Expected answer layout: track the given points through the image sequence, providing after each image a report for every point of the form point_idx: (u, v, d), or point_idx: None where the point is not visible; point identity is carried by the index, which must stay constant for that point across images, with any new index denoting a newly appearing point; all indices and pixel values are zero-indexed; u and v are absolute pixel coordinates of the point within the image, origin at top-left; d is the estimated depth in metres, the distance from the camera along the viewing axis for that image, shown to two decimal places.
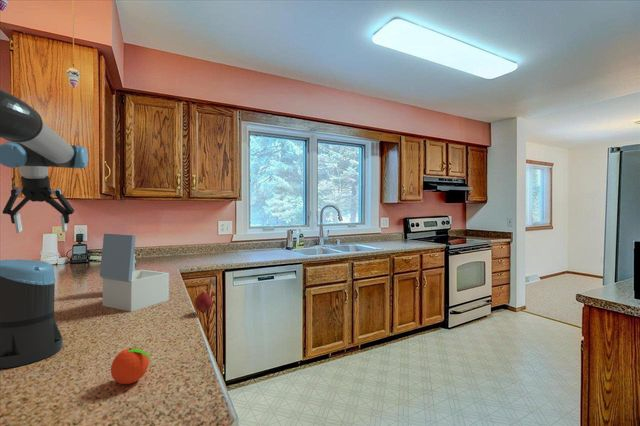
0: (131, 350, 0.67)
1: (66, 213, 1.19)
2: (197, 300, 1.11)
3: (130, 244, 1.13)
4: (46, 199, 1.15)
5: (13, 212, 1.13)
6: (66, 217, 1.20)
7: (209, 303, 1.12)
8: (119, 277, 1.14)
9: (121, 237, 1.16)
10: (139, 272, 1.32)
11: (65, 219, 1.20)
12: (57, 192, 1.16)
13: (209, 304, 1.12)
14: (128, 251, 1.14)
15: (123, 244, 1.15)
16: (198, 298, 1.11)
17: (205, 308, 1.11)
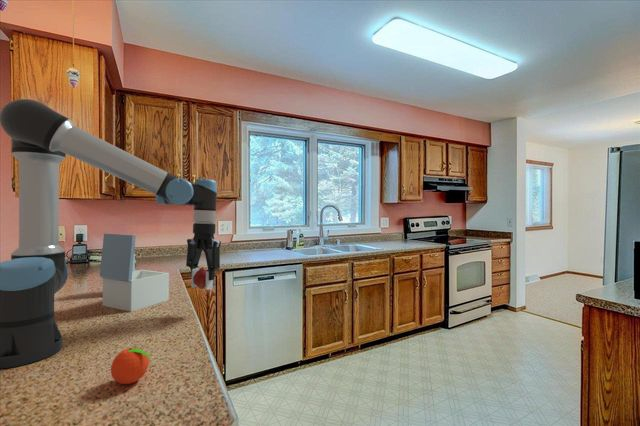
0: (131, 350, 0.67)
1: (211, 269, 1.10)
2: (196, 275, 1.10)
3: (130, 244, 1.13)
4: (204, 248, 1.10)
5: (191, 264, 1.13)
6: (210, 273, 1.10)
7: None
8: (119, 277, 1.14)
9: (121, 237, 1.16)
10: (139, 272, 1.32)
11: (209, 275, 1.10)
12: (214, 243, 1.09)
13: None
14: (128, 251, 1.14)
15: (123, 244, 1.15)
16: (197, 273, 1.11)
17: (203, 284, 1.10)
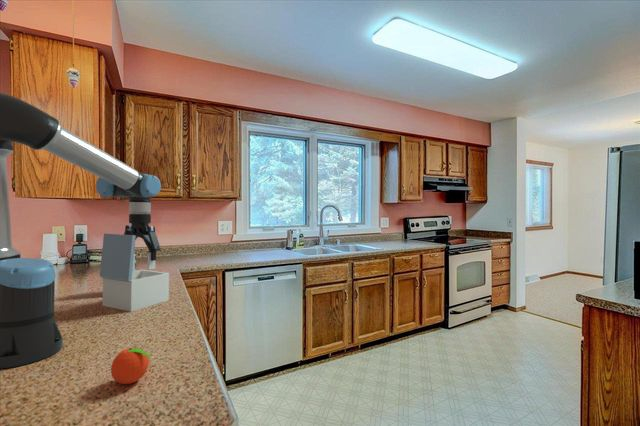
0: (131, 350, 0.67)
1: (151, 249, 1.21)
2: None
3: (130, 244, 1.13)
4: (141, 234, 1.22)
5: None
6: (152, 254, 1.21)
7: None
8: (119, 277, 1.14)
9: (121, 237, 1.16)
10: (139, 272, 1.32)
11: (151, 256, 1.21)
12: (148, 228, 1.21)
13: None
14: (128, 251, 1.14)
15: (123, 244, 1.15)
16: None
17: None
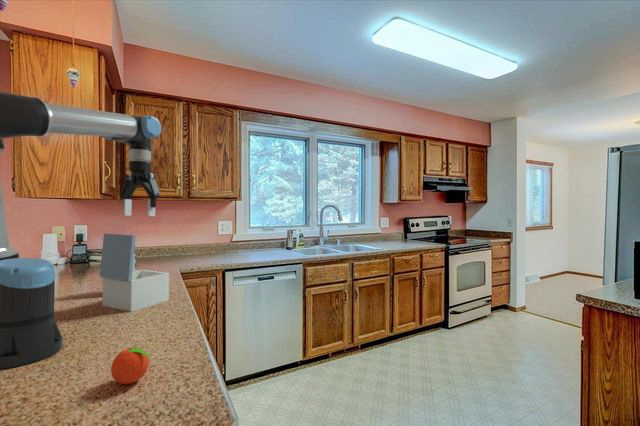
0: (131, 350, 0.67)
1: (151, 196, 1.20)
2: None
3: (130, 244, 1.13)
4: (141, 181, 1.22)
5: (124, 196, 1.26)
6: (152, 201, 1.21)
7: None
8: (119, 277, 1.14)
9: (121, 237, 1.16)
10: (139, 272, 1.32)
11: (151, 203, 1.21)
12: (148, 174, 1.21)
13: None
14: (128, 251, 1.14)
15: (123, 244, 1.15)
16: None
17: None
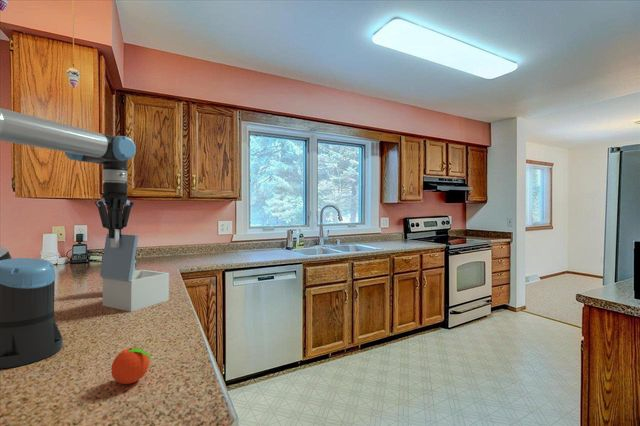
0: (132, 350, 0.67)
1: None
2: None
3: (132, 244, 1.14)
4: None
5: None
6: None
7: None
8: (119, 277, 1.14)
9: (124, 237, 1.17)
10: (139, 272, 1.32)
11: None
12: None
13: None
14: (130, 251, 1.14)
15: (125, 244, 1.16)
16: None
17: None
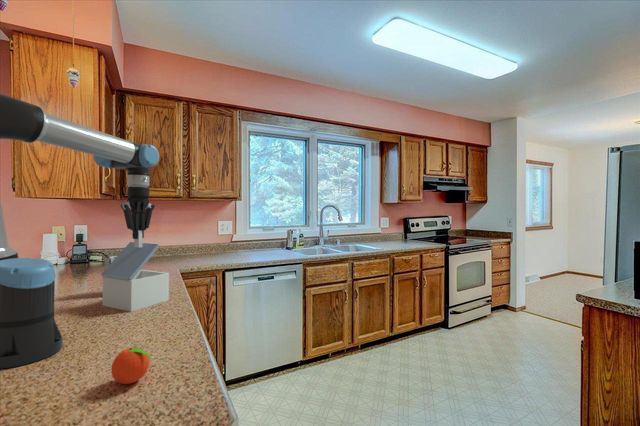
0: (132, 350, 0.67)
1: None
2: None
3: (151, 250, 1.21)
4: None
5: None
6: None
7: None
8: (121, 275, 1.15)
9: (145, 245, 1.25)
10: (139, 272, 1.32)
11: None
12: None
13: None
14: (145, 255, 1.20)
15: (144, 250, 1.23)
16: None
17: None
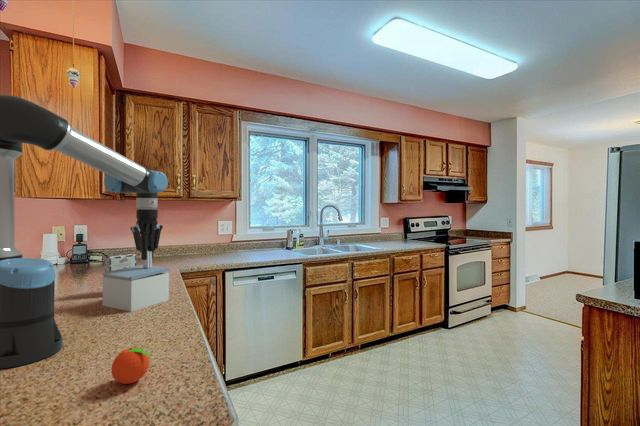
0: (132, 350, 0.67)
1: None
2: None
3: (160, 269, 1.25)
4: None
5: None
6: None
7: None
8: (124, 275, 1.16)
9: (156, 267, 1.29)
10: None
11: None
12: None
13: None
14: (154, 270, 1.23)
15: (153, 268, 1.26)
16: None
17: None
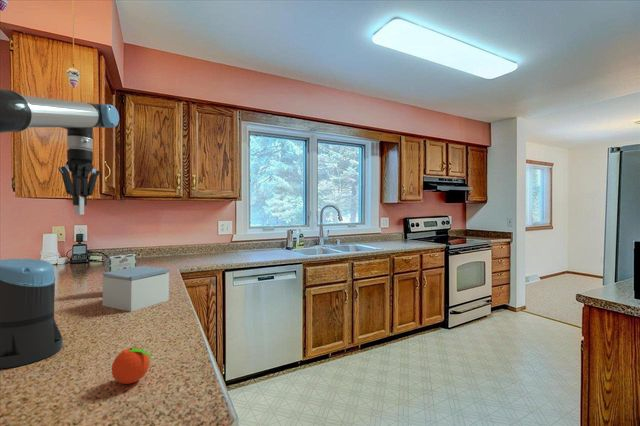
0: (132, 350, 0.67)
1: (72, 194, 1.15)
2: None
3: (161, 270, 1.25)
4: None
5: None
6: None
7: None
8: (124, 275, 1.16)
9: (156, 268, 1.29)
10: None
11: None
12: None
13: None
14: (154, 271, 1.23)
15: (153, 269, 1.27)
16: None
17: None
